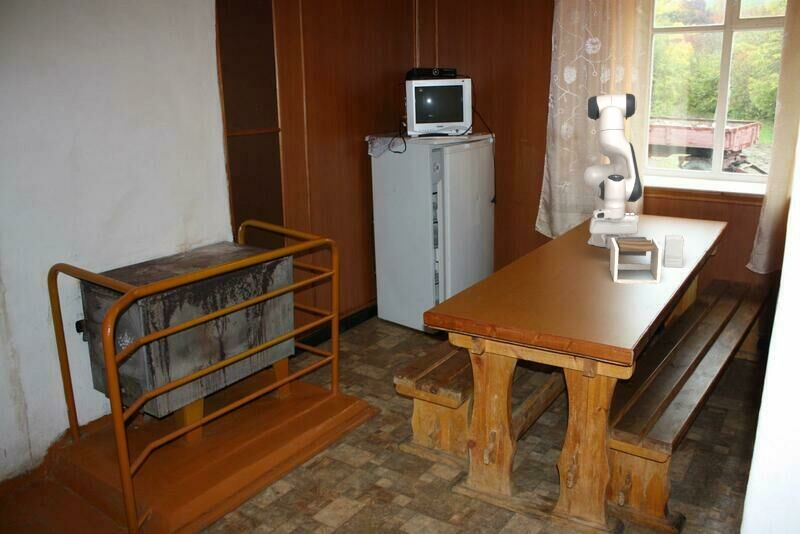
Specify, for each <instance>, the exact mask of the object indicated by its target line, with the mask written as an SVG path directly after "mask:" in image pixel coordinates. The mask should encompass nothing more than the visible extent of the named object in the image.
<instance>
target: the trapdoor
mask: <svg viewBox="0 0 800 534" xmlns="http://www.w3.org/2000/svg"><path fill="white" fill-rule="evenodd" d="M616 243H618V249H619V251H618V257H619V256H621V257H624V256H625V257H626V256H627V257H629V256H631V257H632V256H633V257H634V256H636V257H640V256H641V257H647V252H651V251H655V248H654V247H653V245H652V239H647V238H646V236H625V237H618V240H616Z"/></svg>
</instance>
